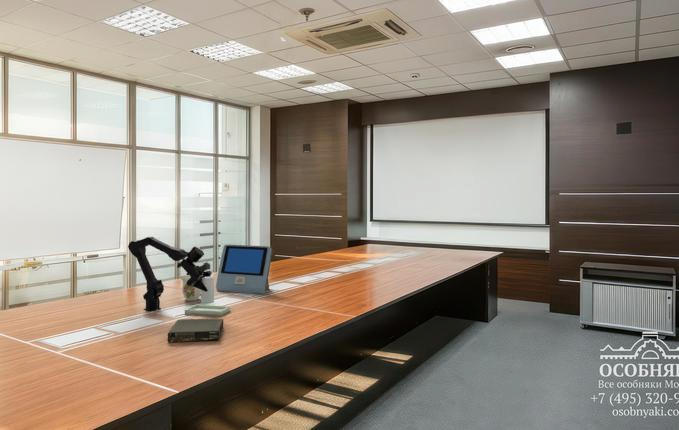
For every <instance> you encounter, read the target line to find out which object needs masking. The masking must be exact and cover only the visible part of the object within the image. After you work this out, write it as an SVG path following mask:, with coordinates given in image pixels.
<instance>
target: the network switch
mask: <svg viewBox="0 0 679 430" xmlns="http://www.w3.org/2000/svg"><path fill="white" fill-rule="evenodd" d="M223 329H224V319H223V318H188V319H187V318H186V319H185V318H184V319H177V320H176V321H175V322H174V323H173V325H172V327H171V328H170V329H169V331H168V333H167V342H168V343H174V342H179V343H180V342H199V341H214V340H215V341H217V342H218V341H219V340H220V336H221V334H222V331H223Z"/></svg>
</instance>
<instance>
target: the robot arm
mask: <svg viewBox="0 0 679 430" xmlns="http://www.w3.org/2000/svg"><path fill="white" fill-rule="evenodd" d="M148 246H151V247H153V248H155V249H156V250H158V251H161V252H163V253H164V254H167V257H169V258H170V259H171V260H173V261H175V262H177V264H176V268H178V269H180V268H182V269H183V270H184V271H185V272H186V276H190V277H191V278H190V279H189V280H188V281H187V285H188V286H189V287H190V286H192V287H195V288H198V289H201V290H203V291H205V292H207V291H208V290H207V288H206V287H205V285H204V284H203V283H202V277H212V276H211V275H212V274H213V272H212V271H211V264H210V263H209V262H205V263H204V262H203V263H202V264H203V265H196V264H195V263H198V262H199V261H200V260H201V259H202V257H204V256H205V253H204V251H203V250H202V249H200V248H199V247H197V246H196V245H195V246H193V247H192V248H191V249H190V251H186V250H185V249H183V248H180V247H174V246H171V245H169V244H168V243H165V242H163V241H161V240H159V239H158V238H156V237H154V236H146V237H144V238H142V239H138V240H137V239H136V240H131V241H130V242H129V243H128V245H127V248H128V251H130V253H131V255H133V256H134V257H135V258H136V260H137V262H138V265H139V267H140V269H141V272H142V274H143V276H144V278H145V281H146V287H145V288H146V292H145V293H144V294H143V295H142V296H143V299H144V300H145V308H143V311H149V312H153V311H156V310H161V309H162V307H160V306H161V304H160V303H161V302H160V298H161V297H162V294H163V293H164V291H165V285H164V284H163V281H162V280H161V279H157V277H156V276H155V273H154V270H153V268H152V266H151V264H150V262H149V259H148V257H147V255H146V253H147V251H146V250H147V248H146V247H148ZM192 283H193V285H192Z"/></svg>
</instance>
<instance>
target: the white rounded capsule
mask: <svg viewBox="0 0 679 430" xmlns="http://www.w3.org/2000/svg"><path fill="white" fill-rule="evenodd" d="M202 283H203V284H204V285H205V287H206V288H207V290H208V291H207V292H205V291H203V290H201V296H200V298H201V299H200V300H201V301H200V303H201V304H204V305H209V304H213V303H214V302H215V277H214V276H210V277H202Z"/></svg>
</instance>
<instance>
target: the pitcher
mask: <svg viewBox="0 0 679 430" xmlns="http://www.w3.org/2000/svg"><path fill="white" fill-rule="evenodd" d="M178 278H179V279H181V281H182V295H183V298H184V300H186V301H189V302H191V301H192V302H193V301H194V302H195V301H197V300H199V298H200V297H201V289H198V288H195V287H192V286H190V287H189V286H188V285H187V281H188V280H189V279H190V278H191V277H190V275H179V276H178ZM192 285H193V283H192Z"/></svg>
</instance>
